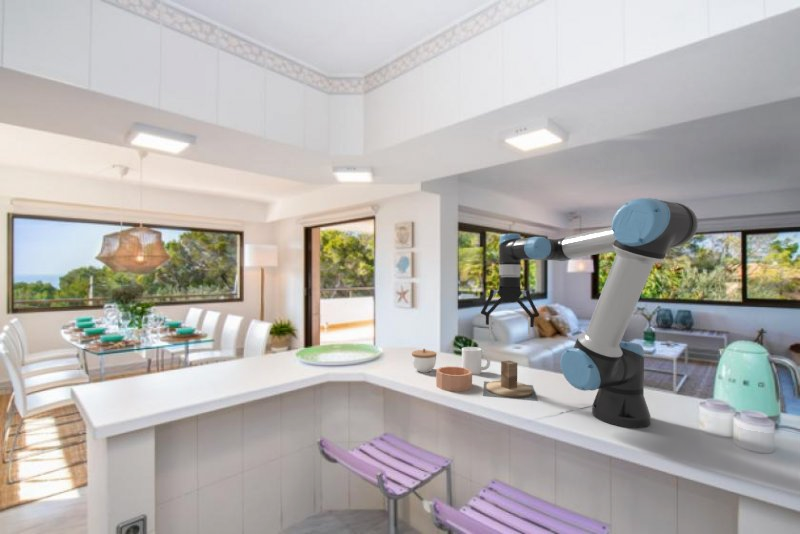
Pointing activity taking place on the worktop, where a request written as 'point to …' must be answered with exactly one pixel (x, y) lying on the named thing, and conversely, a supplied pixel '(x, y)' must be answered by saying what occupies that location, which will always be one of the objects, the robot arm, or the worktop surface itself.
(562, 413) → the worktop surface
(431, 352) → the lidded jar
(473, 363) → the mug
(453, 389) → the bowl
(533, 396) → the mat
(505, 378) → the cover
